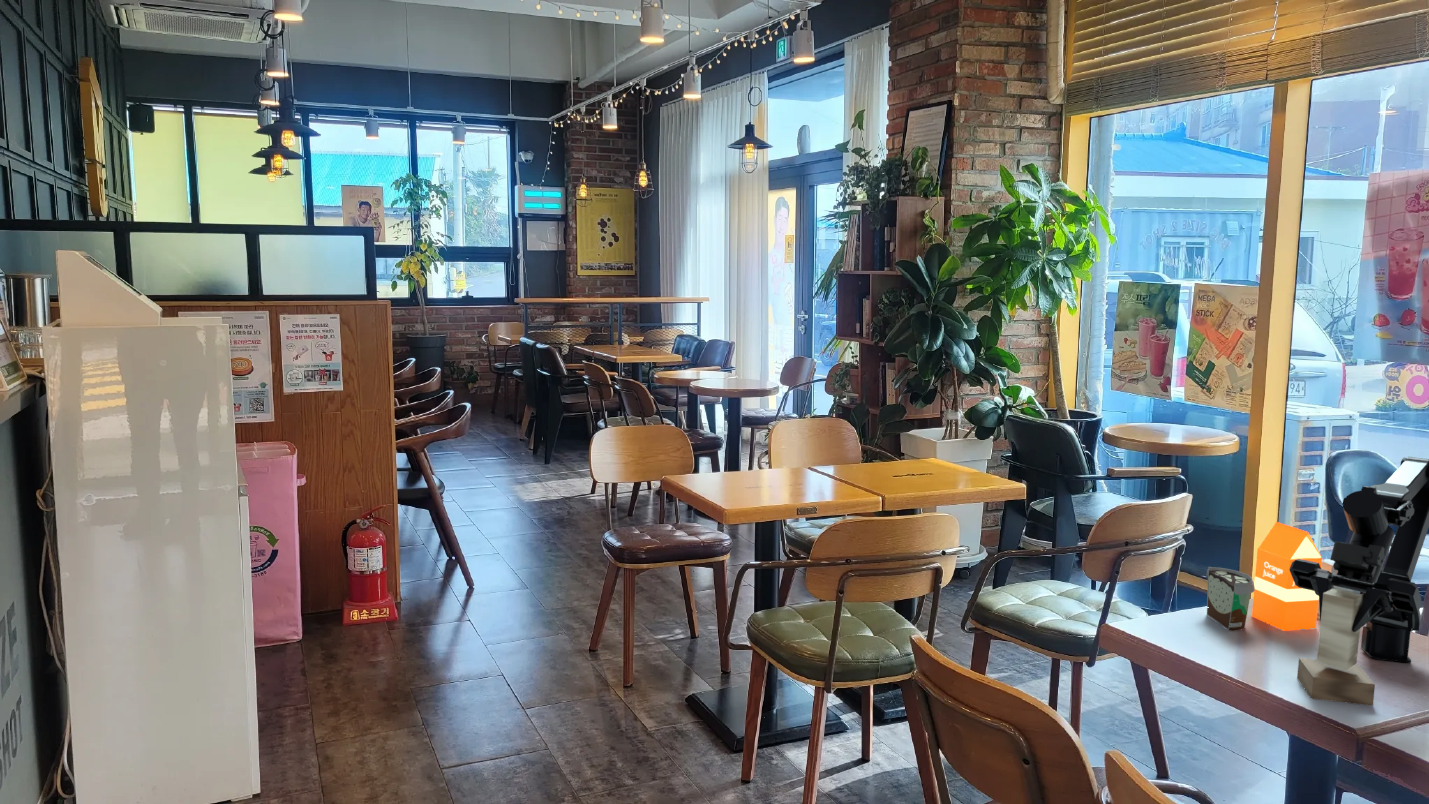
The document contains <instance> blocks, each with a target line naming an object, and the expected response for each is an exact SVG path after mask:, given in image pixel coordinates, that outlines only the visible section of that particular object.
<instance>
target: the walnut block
mask: <svg viewBox="0 0 1429 804" xmlns="http://www.w3.org/2000/svg"><path fill="white" fill-rule="evenodd" d="M1296 679H1297V681H1298V682H1299V683H1300V685H1301V686H1302V688H1303V689H1304V688H1305V689H1304V690H1305V692H1306V691H1307V692H1306V693H1307V695H1308V696H1309V698H1310V699H1311V698H1312V699H1314V700H1322V701H1330V702H1336V703H1345V702H1347V704H1355V705H1363V706H1369V707H1370V706H1371V707H1373V705H1374V700H1375V698H1374V697H1375V689H1376V684H1375V682H1374V681H1373V680H1372V679H1371V678H1370V677H1369V675H1368V674H1367V673H1366V672H1365V671H1364V670H1363V669H1362V668H1361V666H1360V665H1359V664H1357V663H1356V664H1355V665H1353V666H1352V667H1350V668H1349V669H1347V670H1345V669H1342V668H1338V667H1335V666H1331V665H1327V664H1324V663H1320V662H1317V659H1312V658H1304V657H1298V666H1297V677H1296Z"/></svg>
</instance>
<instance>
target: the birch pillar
mask: <svg viewBox="0 0 1429 804" xmlns="http://www.w3.org/2000/svg"><path fill="white" fill-rule="evenodd" d="M1362 603H1363V595H1362V594H1360V593H1359V592H1358V593H1357V592H1354V591H1353V592H1349V591H1345V590H1340V589H1336V588H1332V589H1331V590H1329V591H1327V592H1325V593H1323V602H1322V613H1321V622H1320V624H1319V634H1318V646H1317V657H1316V660H1317V662H1320V663H1324V664H1327V665H1331V666H1335V667H1338V668H1342V669H1345V670H1347V669H1349V668H1350V667H1352V666H1353V665H1355V664H1357V661H1358V652H1359V641H1360V633H1361V632H1360V631H1361V628H1360V629H1359V630H1357V631H1356V632H1353V631H1352V626H1353V623H1354V620H1355V617H1356V615H1357V613H1358V611H1359V609H1360V607H1361V605H1362Z"/></svg>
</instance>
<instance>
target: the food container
mask: <svg viewBox="0 0 1429 804" xmlns="http://www.w3.org/2000/svg"><path fill="white" fill-rule="evenodd" d="M1206 577H1207V589H1206V590H1207V591H1206V592H1207V594H1206V595H1207V596H1206V597H1207V598H1206V616H1208V617H1209V618H1210V619H1212V620H1213V621H1215V622H1216V623H1217V624H1218V625H1219V626H1221V627H1223V628H1224V629H1225V628H1226V629H1225V630H1226V631H1228V632H1237V631H1242V630H1244V629H1245V626H1246V623H1247V616H1248V611H1249V604H1250V598H1251V594H1252V593H1254V591H1255V586H1254V581H1255V580H1253V578H1252V576H1250V575H1249V574H1247V573H1244V572H1241V571H1239V570H1234V569H1229V568H1224V567H1223V568H1222V567H1214V566H1213V567H1212V566H1208V567H1207V570H1206ZM1207 607H1209V608H1207ZM1243 628H1244V629H1243ZM1241 629H1242V630H1241Z"/></svg>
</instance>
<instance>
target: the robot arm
mask: <svg viewBox="0 0 1429 804" xmlns="http://www.w3.org/2000/svg"><path fill="white" fill-rule="evenodd" d="M1341 505H1342V508H1343V509H1342V510H1343V512H1344V516H1345V518H1346V522H1347V525H1348V528H1349V529H1350V530H1349V531H1352V535H1351V538H1350V541H1349V543H1347V542H1342V541H1334V543H1333V547H1332V551H1331V555H1330V558H1329V559H1331V560H1333V561H1335V562H1334V565H1333V567H1334V570H1338V572H1337V574H1332V573H1331V572H1329V571H1327V570H1323V569H1321V567H1320V564H1319V563H1317V562H1312V561H1307V560H1302V559H1296V560H1295V561H1293V562H1292V564H1291V566H1290V569H1289V570H1290V573H1291V575H1292V578H1293V580H1294V583H1295V585H1296V586H1298V587H1299V588H1303V589H1308V590H1312V591H1315V594H1316V595H1318V596H1319V608H1320V620H1319V622H1320V623H1321V613H1322V602H1323V593H1325V592H1327V591H1329V590H1331V589H1332V588H1334V586H1337V587H1342V588H1346V589H1351V590H1353V591H1356V592H1359V594H1362V595H1363V603H1362V605H1361V607H1360V609H1359V611H1358V613H1357V615H1356V617H1355V620H1354V623H1353V626H1352V631H1353V632H1356V631H1357V630H1359V629H1360V630H1361V629H1362V632H1361V643H1360V648H1361V649H1362V650H1363V651H1364V652H1365V653H1366V655H1368V657H1369V658H1371V659H1374V660H1382V661H1394V662H1399V663H1401V662H1402V663H1412V659H1411V658H1410V657H1409V651H1410V649H1409V648H1410V640H1411V633H1412V632H1413V631H1415V632H1416V631H1418V632H1419V631H1421V622H1422V621H1421V620H1422V619H1421V618H1422V616H1421V615H1422V614H1421V612H1420V609H1421V607H1422V602H1423V601H1422V597H1421V593H1420V590H1419V587H1418V585H1417V584H1416V583H1415V582H1412V579H1413V575H1414V572H1415V570H1416V567H1417V564H1418V561H1419V557H1420V555H1421V552H1422V549H1423V546H1424V542H1425V539H1426V536H1427V534H1428V530H1429V458H1423V457H1413V456H1407V457H1405V456H1404V457H1402V459H1401V461H1400V465H1399V466H1398V467H1397V468H1396V470H1395V471H1394V472H1393V473H1392V474H1391V475H1390V476H1389V477H1388V479H1387V480H1386V481H1385V482H1384V483H1381V484H1373V485H1371V486H1368V485H1367V486H1365V485H1362V488H1361V490H1357V491H1353V492H1351V493H1349V494H1348V495H1347V496H1346V497H1344V498H1343V500H1342V504H1341ZM1389 525H1392V526H1397V527H1396V531H1395V532H1394V530H1393V528H1392V527H1391V526H1389Z"/></svg>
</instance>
